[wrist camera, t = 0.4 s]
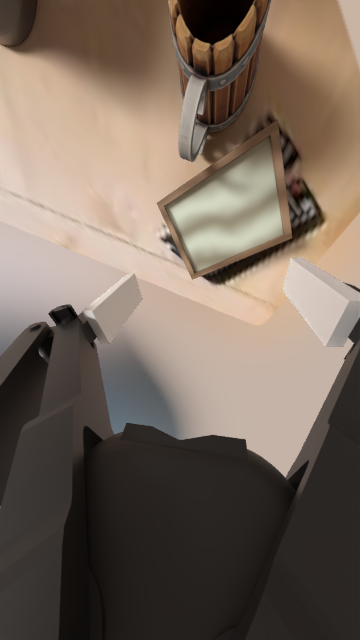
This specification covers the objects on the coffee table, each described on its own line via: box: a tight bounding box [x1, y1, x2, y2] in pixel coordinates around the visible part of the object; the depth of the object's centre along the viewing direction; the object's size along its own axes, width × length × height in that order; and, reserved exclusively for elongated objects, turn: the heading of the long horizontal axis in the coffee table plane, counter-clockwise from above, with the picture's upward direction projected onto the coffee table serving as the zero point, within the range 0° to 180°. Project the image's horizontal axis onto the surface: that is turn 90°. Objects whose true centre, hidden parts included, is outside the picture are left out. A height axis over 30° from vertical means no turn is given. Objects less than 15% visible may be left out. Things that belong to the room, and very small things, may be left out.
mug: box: [168, 0, 271, 162], centre depth 19 cm, size 16×11×15 cm
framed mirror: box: [157, 119, 292, 280], centre depth 31 cm, size 16×20×5 cm
